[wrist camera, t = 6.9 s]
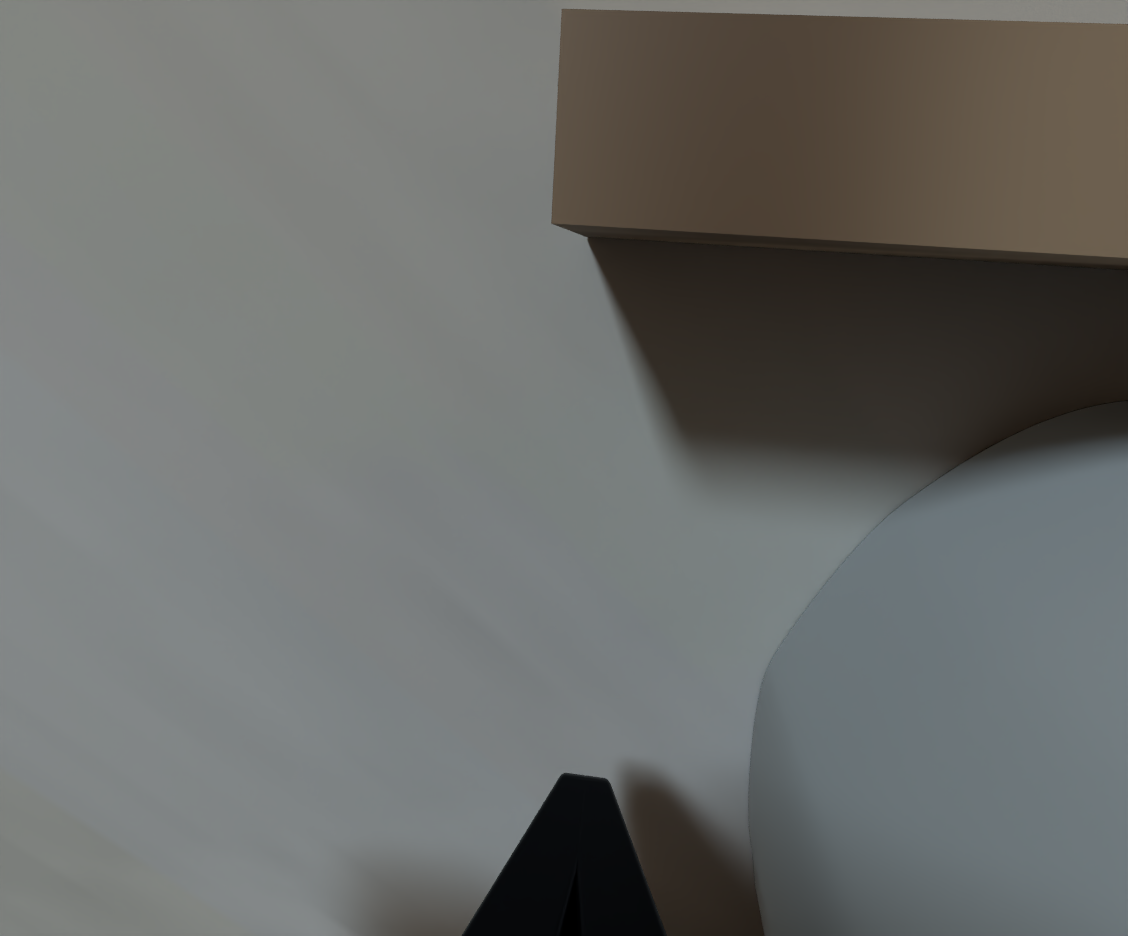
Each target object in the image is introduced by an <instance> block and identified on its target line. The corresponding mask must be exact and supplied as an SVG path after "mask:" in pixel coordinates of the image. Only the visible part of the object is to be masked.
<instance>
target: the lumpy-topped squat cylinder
mask: <svg viewBox="0 0 1128 936" xmlns="http://www.w3.org/2000/svg"><path fill="white" fill-rule="evenodd" d="M748 813H749V834H750V842H751V848H752V855H753V867H754V879H755V886H756V892H757V898H758V903H759V908H760V914H761V919H762V924H763V930H764V935H765V936H1128V401H1121V402H1114V403H1108V404H1103V405H1098V406H1093V407H1089V408H1085V409H1081V410H1077V411H1074V412H1070V413H1067V414H1064V415H1061V416H1058V417H1055V418H1052V419H1050V420H1047V421H1044V422H1042V423H1039V424H1037V425H1034V426H1032V427H1030V428H1027V429H1025V430H1023V431H1021V432H1019V433H1017V434H1015V435H1012V436H1010V437H1008V438H1006V439H1004V440H1003V441H1001V442H999V443H997V444H995V445H993V446H991V447H989V448H988V449H986V450H984V451H982V452H981V453H979V454H977V455H975V456H974V457H972V458H970V459H969V460H967V461H965V462H964V463H962V464H961V465H959V466H957V467H956V468H954V469H953V470H951V471H949V472H948V473H946V474H945V475H943V476H942V477H940V478H939V479H937V480H936V481H934V482H933V483H931V484H930V485H928V486H927V487H926V488H924V489H923V490H921V491H920V492H918V493H917V494H916V495H914V496H913V497H911V498H910V499H909V500H907V501H906V502H905V503H903V504H902V505H901V506H900V507H898V508H897V509H896V510H895V511H893V512H892V513H891V514H890V515H889V516H887V517H886V518H885V519H884V520H883V521H882V522H881V523H880V524H879V525H878V526H877V527H876V528H875V529H874V530H873V531H872V532H871V533H870V534H869V535H868V536H867V537H866V538H865V539H864V540H863V541H862V542H861V543H860V544H859V545H858V546H857V548H856V549H855V550H854V551H853V552H852V553H851V554H850V555H849V557H848V558H847V559H846V560H845V561H844V562H843V564H842V565H841V566H840V567H839V568H838V570H837V571H836V572H835V573H834V574H833V576H832V577H831V578H830V579H829V581H828V582H827V583H826V584H825V586H824V587H823V588H822V589H821V591H820V592H819V593H818V594H817V596H816V597H815V598H814V600H813V601H812V602H811V604H810V605H809V606H808V608H807V609H806V610H805V612H804V613H803V614H802V616H801V617H800V618H799V620H798V621H797V623H796V624H795V625H794V627H793V628H792V630H791V631H790V632H789V634H788V635H787V637H786V638H785V640H784V641H783V643H782V644H781V646H780V647H779V649H778V650H777V652H776V654H775V655H774V657H773V658H772V660H771V662H770V664H769V666H768V668H767V670H766V673H765V675H764V678H763V682H762V685H761V689H760V693H759V698H758V703H757V709H756V715H755V722H754V729H753V738H752V747H751V758H750V773H749V803H748Z"/></svg>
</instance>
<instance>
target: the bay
mask: <svg viewBox="0 0 1128 936" xmlns="http://www.w3.org/2000/svg"><path fill="white" fill-rule="evenodd" d="M551 223H552V224H554V225H557V226H559V227H562V228H565V229H567V230H570V231H572V232H575V233H578V234H580V235H583V236H585V237H601V238H617V239H634V240H650V241H666V242H682V243H698V244H715V245H731V246H747V247H763V248H779V249H795V250H812V251H828V252H844V253H860V254H876V255H893V256H909V257H925V258H941V259H957V260H974V261H990V262H1006V263H1022V264H1038V265H1055V266H1071V267H1087V268H1103V269H1119V270H1128V24H1101V23H1064V22H1028V21H991V20H954V19H917V18H880V17H843V16H807V15H770V14H733V13H696V12H659V11H622V10H586V9H562V17H561V37H560V58H559V78H558V99H557V119H556V140H555V160H554V181H553V201H552V222H551Z"/></svg>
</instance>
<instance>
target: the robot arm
mask: <svg viewBox="0 0 1128 936" xmlns="http://www.w3.org/2000/svg"><path fill="white" fill-rule="evenodd" d="M462 936H667V935H666V932H665V930H664V927H663V924H662V921H661V919H660V916H659V913H658V911H657V908H656V905H655V903H654V900H653V897H652V894H651V892H650V889H649V886H648V884H647V881H646V878H645V876H644V873H643V870H642V867H641V865H640V862H639V859H638V857H637V854H636V851H635V849H634V846H633V843H632V840H631V838H630V835H629V832H628V830H627V827H626V824H625V822H624V819H623V816H622V814H621V811H620V808H619V805H618V803H617V800H616V797H615V795H614V792H613V789H612V787H611V784H610V782H609V781H608V780H607V779H605V778H600V777H593V776H584V775H578V774H571V773H564V774H562V775H561V776H560V777H559V779H558V780H557V782H556V784H555V785H554V787H553V789H552V790H551V792H550V793H549V795H548V797H547V798H546V800H545V801H544V803H543V805H542V806H541V808H540V810H539V811H538V813H537V814H536V816H535V818H534V819H533V821H532V823H531V824H530V826H529V827H528V829H527V831H526V832H525V834H524V836H523V837H522V839H521V840H520V842H519V844H518V845H517V847H516V848H515V850H514V852H513V853H512V855H511V857H510V858H509V860H508V861H507V863H506V865H505V866H504V868H503V870H502V871H501V873H500V874H499V876H498V878H497V879H496V881H495V882H494V884H493V886H492V887H491V889H490V891H489V892H488V894H487V895H486V897H485V899H484V900H483V902H482V904H481V905H480V907H479V908H478V910H477V912H476V913H475V915H474V917H473V918H472V920H471V921H470V923H469V925H468V926H467V928H466V929H465V931H464V933H463V934H462Z"/></svg>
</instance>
